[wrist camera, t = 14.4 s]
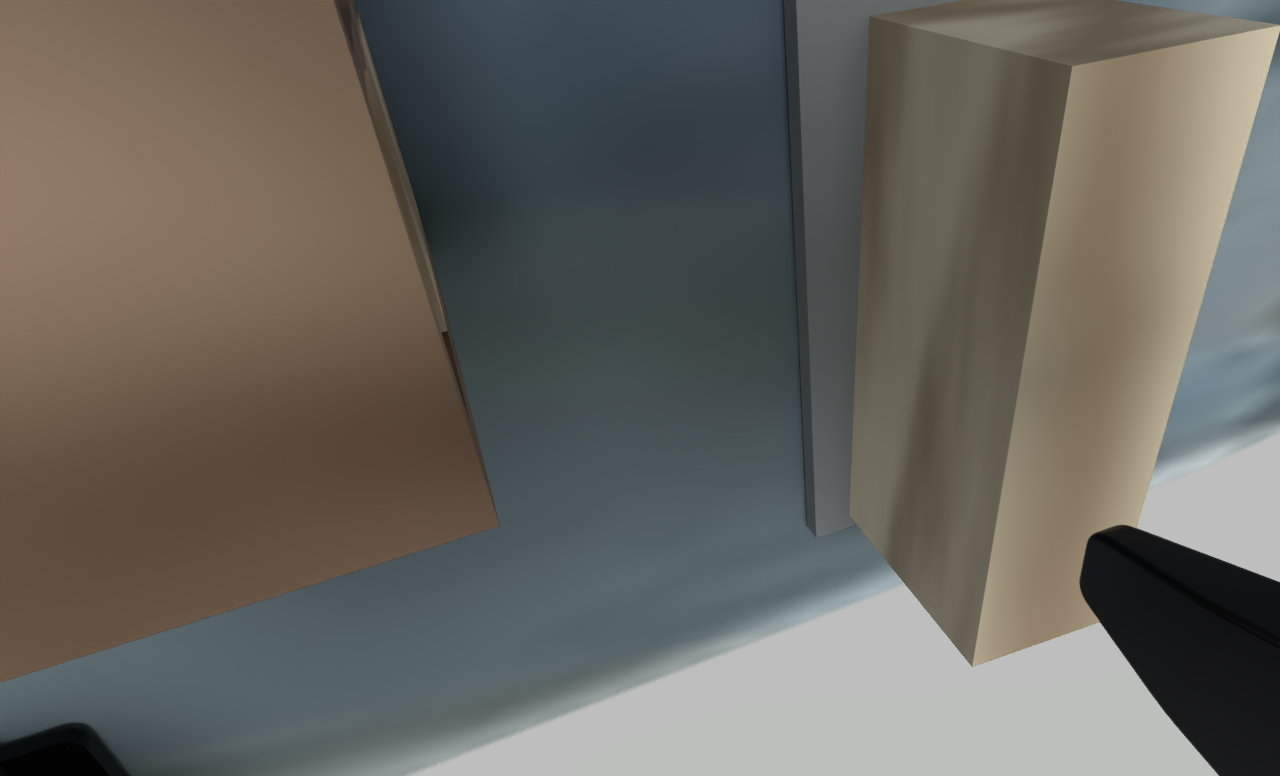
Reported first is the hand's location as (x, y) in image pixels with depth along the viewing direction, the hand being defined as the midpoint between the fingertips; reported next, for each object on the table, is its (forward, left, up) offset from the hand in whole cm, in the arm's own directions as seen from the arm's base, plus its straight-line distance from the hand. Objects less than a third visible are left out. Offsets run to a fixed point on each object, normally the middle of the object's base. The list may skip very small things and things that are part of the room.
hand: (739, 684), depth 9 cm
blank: (-3, -10, -11) cm, 15 cm away
